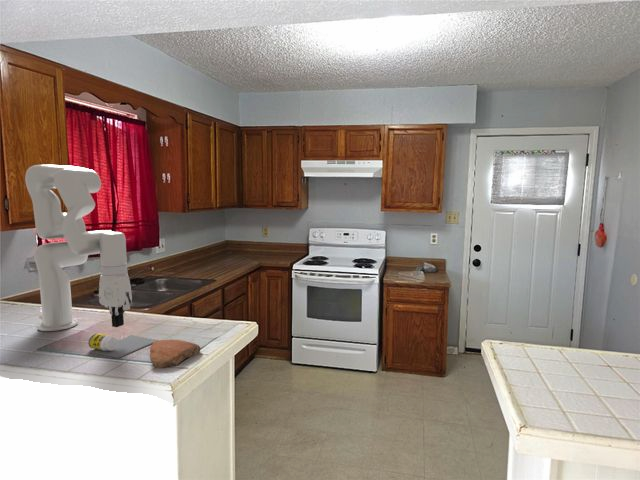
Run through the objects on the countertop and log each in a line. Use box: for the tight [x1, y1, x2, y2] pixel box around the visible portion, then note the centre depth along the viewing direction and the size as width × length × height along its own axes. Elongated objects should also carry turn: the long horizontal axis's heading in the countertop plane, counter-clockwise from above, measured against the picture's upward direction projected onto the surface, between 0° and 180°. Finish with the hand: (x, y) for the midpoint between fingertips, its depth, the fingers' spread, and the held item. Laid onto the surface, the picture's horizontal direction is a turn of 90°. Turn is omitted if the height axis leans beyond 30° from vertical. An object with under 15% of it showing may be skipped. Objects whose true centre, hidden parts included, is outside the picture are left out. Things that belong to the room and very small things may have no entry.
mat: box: [89, 334, 159, 359], centre depth 136 cm, size 12×16×1 cm
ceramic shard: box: [149, 339, 202, 369], centre depth 126 cm, size 15×6×15 cm
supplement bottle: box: [87, 332, 118, 351], centre depth 132 cm, size 5×5×8 cm
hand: (118, 325), depth 136 cm, fingers closed
